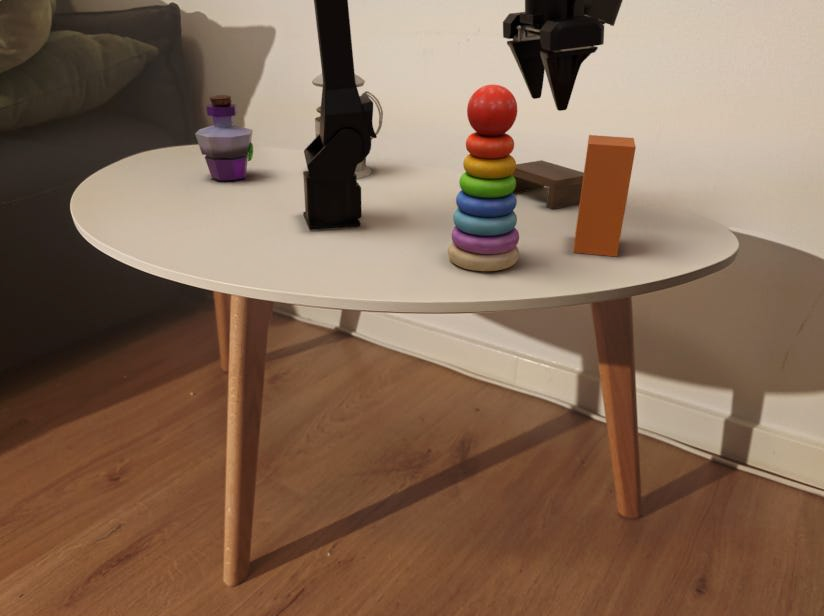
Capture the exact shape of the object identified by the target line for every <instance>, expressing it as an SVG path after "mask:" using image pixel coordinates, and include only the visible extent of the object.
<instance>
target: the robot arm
mask: <svg viewBox="0 0 824 616" xmlns="http://www.w3.org/2000/svg"><path fill="white" fill-rule="evenodd" d="M623 2H624V1H623V0H524V11H521V12H520V11H519V12H510V13H508V15H507V16H506V18H504V20H503V21H502V36H503V37H502V38H504V39H507V41H506V45H507V46H508V47H509V49H510V51H511V54H512V56H513V58H514V60H515V62H516V64H517V67H518V69H519V71H520V73H521V76H522V79H523V80H524V82H525V85H526V88H527V90H528V92H529V94H530V96H531V98H532V100H536V99H540V98H541V97H542V94H543V93H542V92H543V86H544V77H545V74H546V78H547V82H548V85H549V88H550V92H551V96H552V99H553V103H554V105H555V108H556V110H557V111H558V112H560V111H561V112H562V111H566V110H567V109H568V108H569V107H568V106H569V104H570V100H571V97H572V93H573V91H574V88H575V87H574V86H575V83H576V80H577V77H578V74H579V71H580V69H581V66H582V64H583V62H584V61H585V60H587V58H589V56H590V55H592V54H594V53H596V52H597V50H598V49H599V46H603V45H604V43H605V40H604V39H605V24H606V25H609V26H611V27H614V26H615V24H616V21H617V17H618V15H619V12H620V9H621V8H622V7H621V6H622V3H623ZM313 5H314V15H315V22H316V23H315V24H316V32H317V40H318V49H319V58H320V66H321V74H322V76H323V87H322V90H321V91H322V92H321V100H320V101H321V102H320V106H321V113H319V114H320V116H319V117H320V134H319V135H318V136H317V137H316V136H315V138H314V139H313V140H312V141H311V142H310V143H309V144H308V145H307V147H306V148H304V150H303V154H304V158H305V163H306V164H305V165H306V169H307V170H304V171H303V172H302V174H303V175H302V176H303V192H304V193H303V194H304V211H303V212H302V214H303V218H304V220H305V223H306V225H307V227H308V230H310V231H311V230H312V231H313V230H316V231H317V230H330V229H348V228H349V229H350V228H360V227H361V221H360V220H361V219H362V215H363V213H362V212H363V211H362V186H361V185H360V184H359V183H358V180H357V179H358V178H357V175H356V174H355V170H356V167H357V164H359V163H361V162H362V161H363V160H364V159H365V158H366V159H367V157H368V156H369V154H370V152H371V150H372V140H371V137H373V139H377V136H378V135H376V134H375V133H376V131H375V130H374V125H373V116H374V101H373V100H372V99H371V98H370V97H368V96H367V95H366V94H365V95H362V94H361V95H362V96H361V95H360V94H359V90H358V87H357V86H356V82H355V75H356V73H355V64H354V63H355V62H354V53H353V43H352V42H353V41H352V30H351V21H350V9H349V0H313Z"/></svg>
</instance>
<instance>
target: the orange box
mask: <svg viewBox="0 0 824 616" xmlns="http://www.w3.org/2000/svg"><path fill="white" fill-rule="evenodd" d="M636 149H637V146H636V143H635V138H634V137H624V136H611V135H609V136H608V135H595V134H594V135H593V134H589V135H588V139H587V146H586V152H585V153H586V154H585V160H584V166H583V167H584V169H583V172H584V175H583V182H582V189H581V196H580V204H578V211H577V218H576V226H575V233H574V242H573V253H575V254H585V255H594V256H595V255H596V256H607V257H616V258H617V257H618V254H619V249H620V242H621V236H622V229H623V224H624V219H625V214H626V207H627V201H628V195H629V189H630V183H631V177H632V172H633V165H634V161H635V155H636Z"/></svg>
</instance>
